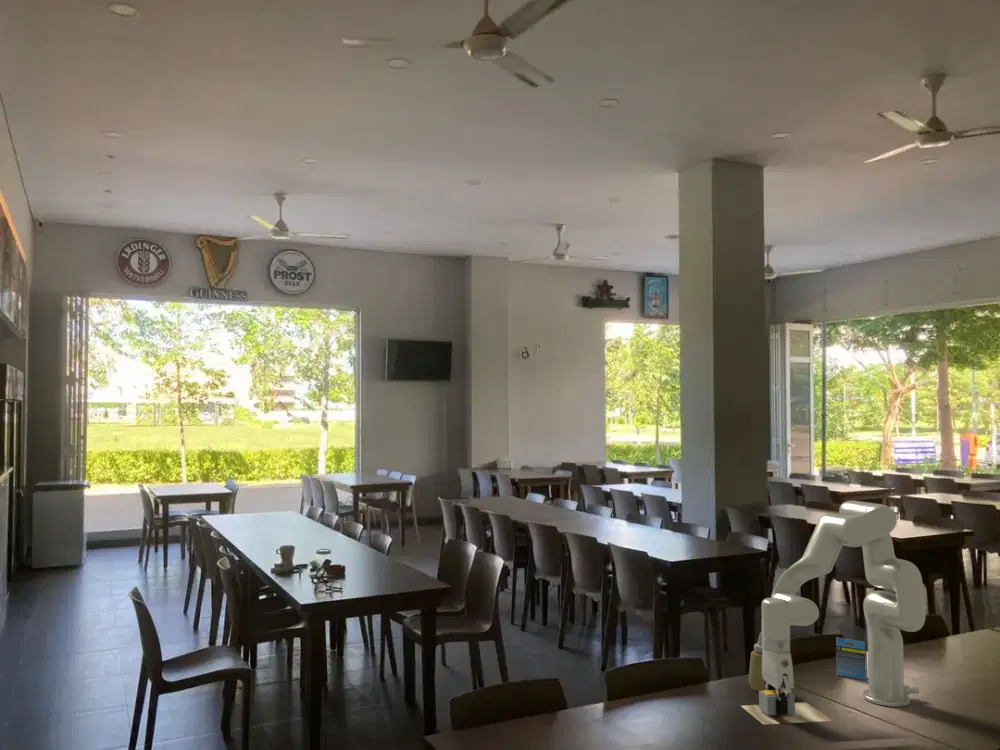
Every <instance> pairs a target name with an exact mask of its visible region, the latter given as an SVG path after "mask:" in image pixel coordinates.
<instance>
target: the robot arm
mask: <svg viewBox="0 0 1000 750" xmlns="http://www.w3.org/2000/svg"><path fill="white" fill-rule="evenodd" d="M838 511H839V514H835V513H827V514H824V515H821V517H820V518H819V519H818V521H817V523H816V525H815V528H814V530H813V533H812V534H811V537H810V539H809V541H808V544H807V546H806V548H805V550H804V553H803V555H802V557H801V558H800V559H798V560H797V561H796V562H794V563H793V564H792V565H791V566H790V567H788V568H787V569H786V570H785V571H784V572H783V573H782V574H781V575H780V577H779V578H778V580H777V581H776V583H775V585H774V588H773V590H772V593H771V595H770V597H766V598H764V599H763V600H762V601H761V633H762V649H763V652H762V677H763V679H764V683H765V690H776V693H777V699H776V714H777V715H787V714H788V699H789V698H788V697H789V695H790V694H791V693H792V690H793V689H794V685H795V684H794V668H793V659H792V654H791V626H800V627H801V626H802V627H806V626H811V625H812V624H814V623H816V622H817V620H818V618H819V614H820V610H819V607H818V606H817V603H815V602H814V601H812V600H811V599H809V598H806V597H802V596H799V595H796V593H797V591H798V590H799V589H800V588H801V587H802V586H803V585H804V584H805V583H806V582H808V581H810V580H812V579H815V578H819V577H822V576H825V575H828V574H829V573H832V571H833V569H834V566H835V563H836V561H837V559H838V556H839V555H840V552H841V550H842V548H843V546H845V547H851V548H858V547H861V548H862V555H863V556H862V558H863V565H864V566H863V567H864V573H865V578H866V581H867V582H868V583H869V585H871V586H873V587H875V588H879V589H883V590H873V591H871V592H869V593H868V594H866V596H865V597H864V599H863V603H862V604H863V605H862V606H863V607H862V608H863V613H864V619H865V623H866V628H867V629H866V632H867V633H866V634H867V678H868V679H867V680H868V689H865V690H864V691H863V692H862V697H863V698H864V699H865V700H866V701H868V702H870V703H873V704H876V705H880V706H885V707H886V706H887V707H893V708H895V707H896V708H897V707H900V708H901V707H906V706H909V705H910V704H911V697H909V695H910V694H919V693H920V687H918V686H910V685H909V684H905V679H904V678H905V675H904V671H905V669H904V639H903V636H902V633H901V631H905V632H908V633H910V632H911V633H916V632H919V631H920V630H921V629H922V628H923V626H924V625H925V622H926V603H925V592H924V586H923V585H924V584H923V578H922V574H921V572H920V570H919V568H918V567H917V566H916V565H915V564H914V563H913V562H911V561H908V560H906V559H901V558H897V557H896V555H895V550H894V549H895V548H894V543H893V539H892V535H891V533H892V531H894V529H895V528H896V525H897V521H898V520H897V514H896V512H895V511H894V509H893V508H892V507H890V506H889V505H885V504H881V503H875V502H868V501H861V500H860V501H859V500H846V501H844V502H842V503H841V505H840V506H839V509H838ZM885 590H887V591H885ZM890 591H891V592H890ZM892 592H893V593H892ZM900 630H901V631H900ZM782 686H783V687H782ZM780 690H784V692H782V693H781V694H780ZM792 694H793V693H792Z"/></svg>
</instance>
